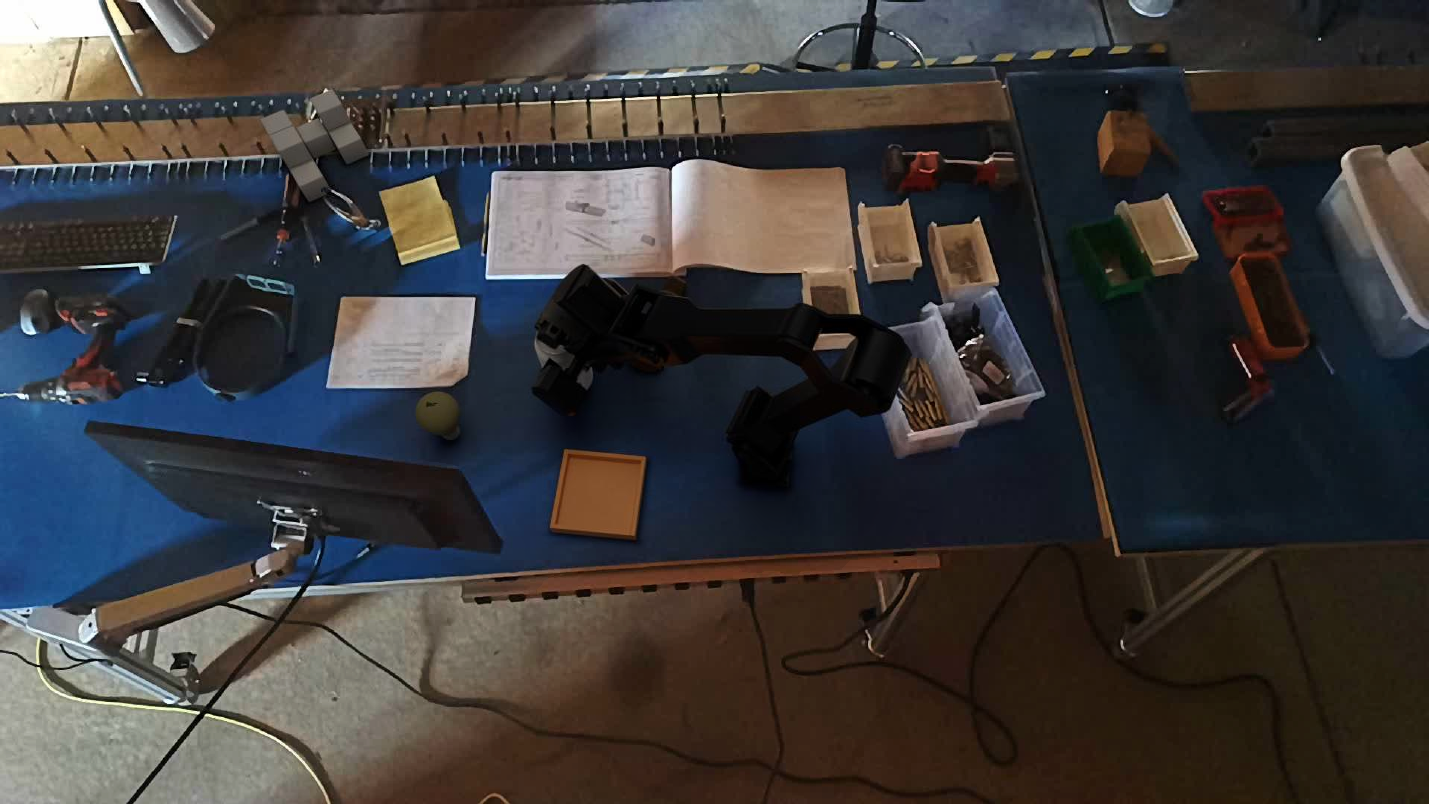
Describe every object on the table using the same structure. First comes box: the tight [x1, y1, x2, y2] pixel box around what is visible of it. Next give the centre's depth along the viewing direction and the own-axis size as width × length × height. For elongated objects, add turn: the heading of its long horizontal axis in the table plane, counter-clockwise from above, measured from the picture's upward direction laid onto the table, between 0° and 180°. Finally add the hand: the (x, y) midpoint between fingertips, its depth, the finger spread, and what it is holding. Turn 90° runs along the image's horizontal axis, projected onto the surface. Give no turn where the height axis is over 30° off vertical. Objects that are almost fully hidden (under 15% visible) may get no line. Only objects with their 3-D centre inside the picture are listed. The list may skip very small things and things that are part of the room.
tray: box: [549, 448, 648, 541], centre depth 115 cm, size 11×11×2 cm
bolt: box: [628, 275, 688, 372], centre depth 125 cm, size 6×5×15 cm
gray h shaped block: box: [260, 89, 369, 203], centre depth 137 cm, size 12×12×8 cm
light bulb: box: [414, 391, 461, 441], centre depth 115 cm, size 6×6×10 cm
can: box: [534, 329, 594, 391], centre depth 117 cm, size 6×6×12 cm
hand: (554, 352), depth 117 cm, fingers closed on can, 6 cm apart
